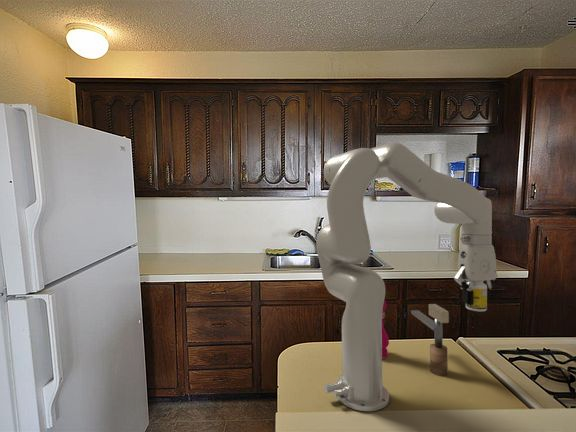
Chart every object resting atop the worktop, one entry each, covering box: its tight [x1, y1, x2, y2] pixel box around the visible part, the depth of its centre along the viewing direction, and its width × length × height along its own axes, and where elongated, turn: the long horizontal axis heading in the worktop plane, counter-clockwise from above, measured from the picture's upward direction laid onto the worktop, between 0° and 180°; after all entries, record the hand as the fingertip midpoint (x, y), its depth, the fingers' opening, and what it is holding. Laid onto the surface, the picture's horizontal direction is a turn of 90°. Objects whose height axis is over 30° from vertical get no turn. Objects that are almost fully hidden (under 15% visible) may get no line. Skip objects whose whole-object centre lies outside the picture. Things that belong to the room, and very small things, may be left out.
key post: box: [429, 343, 449, 377], centre depth 89 cm, size 4×4×7 cm
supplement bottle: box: [464, 281, 488, 312], centre depth 93 cm, size 5×5×10 cm
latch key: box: [410, 303, 450, 347], centre depth 95 cm, size 18×2×11 cm, turn 3°
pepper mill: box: [382, 299, 390, 360], centre depth 100 cm, size 7×7×20 cm
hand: (476, 302), depth 93 cm, fingers closed on supplement bottle, 5 cm apart
